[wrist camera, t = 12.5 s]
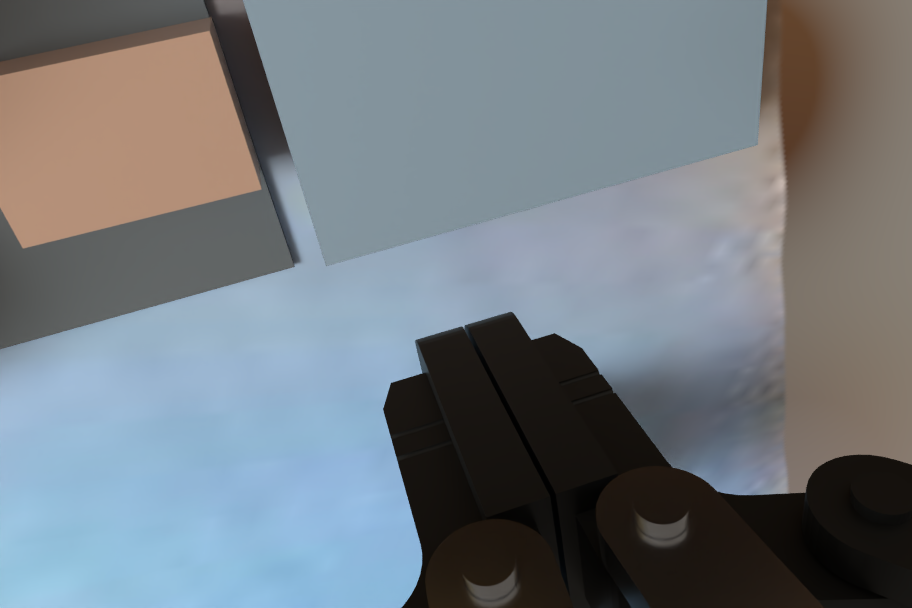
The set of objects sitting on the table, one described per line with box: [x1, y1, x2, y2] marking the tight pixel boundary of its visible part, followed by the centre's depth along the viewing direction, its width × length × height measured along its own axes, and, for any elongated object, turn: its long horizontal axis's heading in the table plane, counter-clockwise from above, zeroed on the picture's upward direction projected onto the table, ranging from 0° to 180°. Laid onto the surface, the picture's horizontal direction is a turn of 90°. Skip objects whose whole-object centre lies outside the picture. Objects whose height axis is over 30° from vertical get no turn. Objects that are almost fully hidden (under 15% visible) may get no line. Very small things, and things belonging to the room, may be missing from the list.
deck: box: [243, 0, 767, 266], centre depth 29 cm, size 20×14×4 cm
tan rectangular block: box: [0, 17, 262, 248], centre depth 27 cm, size 9×6×3 cm, turn 99°
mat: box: [0, 0, 294, 349], centre depth 28 cm, size 14×17×1 cm
